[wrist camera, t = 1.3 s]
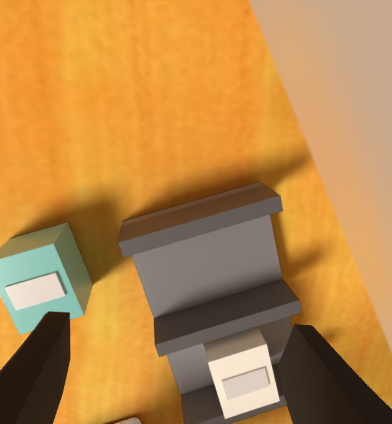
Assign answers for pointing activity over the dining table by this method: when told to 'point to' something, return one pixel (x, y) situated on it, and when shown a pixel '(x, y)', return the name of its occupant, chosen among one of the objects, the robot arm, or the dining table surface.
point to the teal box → (43, 276)
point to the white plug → (241, 371)
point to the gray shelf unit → (212, 286)
